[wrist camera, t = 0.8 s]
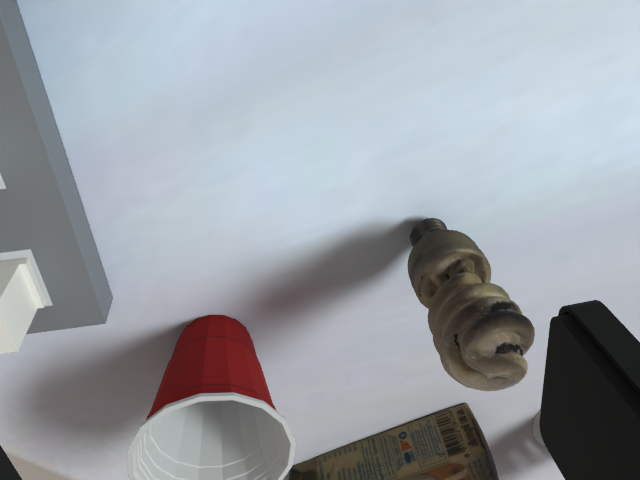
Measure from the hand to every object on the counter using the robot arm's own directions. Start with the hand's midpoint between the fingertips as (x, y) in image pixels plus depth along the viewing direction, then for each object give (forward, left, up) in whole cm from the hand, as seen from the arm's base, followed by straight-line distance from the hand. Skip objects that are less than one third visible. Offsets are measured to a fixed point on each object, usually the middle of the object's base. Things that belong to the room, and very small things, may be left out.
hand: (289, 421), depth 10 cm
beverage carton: (+42, +9, -30) cm, 52 cm away
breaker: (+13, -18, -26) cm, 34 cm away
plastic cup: (+23, -6, -30) cm, 38 cm away
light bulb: (+15, +11, -30) cm, 35 cm away
